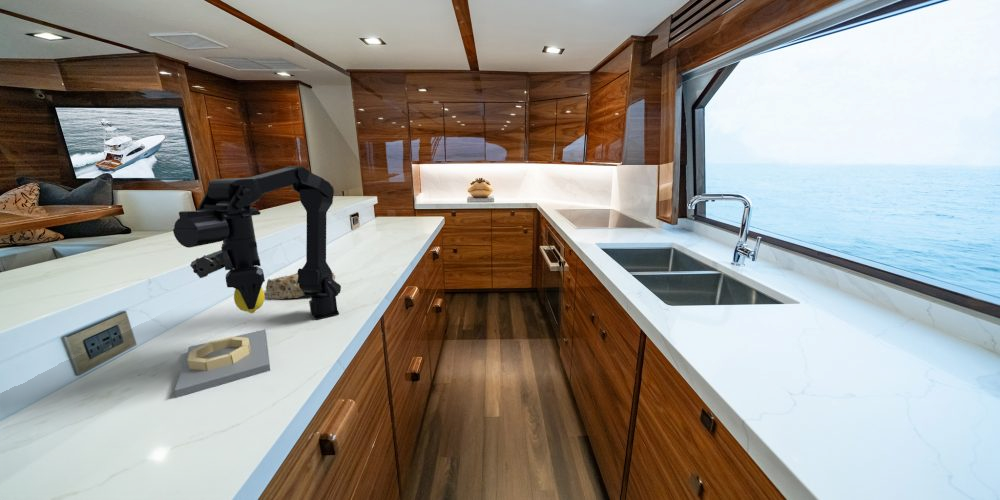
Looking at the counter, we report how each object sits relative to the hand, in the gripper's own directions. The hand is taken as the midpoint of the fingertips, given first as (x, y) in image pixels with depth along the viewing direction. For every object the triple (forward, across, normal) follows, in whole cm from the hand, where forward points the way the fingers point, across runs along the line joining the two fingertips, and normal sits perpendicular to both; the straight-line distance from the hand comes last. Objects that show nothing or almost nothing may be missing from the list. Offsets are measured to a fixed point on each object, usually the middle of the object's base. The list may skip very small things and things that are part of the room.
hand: (250, 304), depth 76 cm
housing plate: (+12, -1, -6) cm, 14 cm away
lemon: (+2, 0, 0) cm, 2 cm away
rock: (+12, -40, +15) cm, 44 cm away
